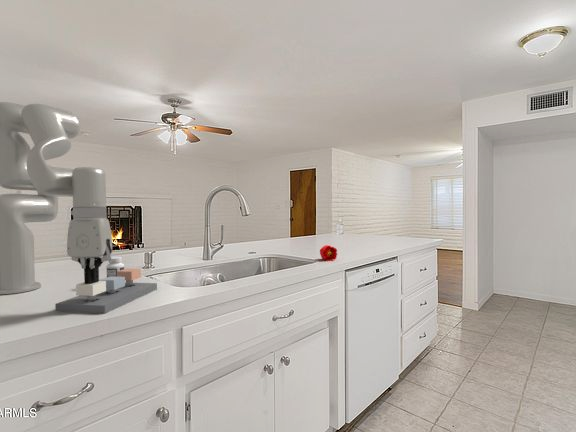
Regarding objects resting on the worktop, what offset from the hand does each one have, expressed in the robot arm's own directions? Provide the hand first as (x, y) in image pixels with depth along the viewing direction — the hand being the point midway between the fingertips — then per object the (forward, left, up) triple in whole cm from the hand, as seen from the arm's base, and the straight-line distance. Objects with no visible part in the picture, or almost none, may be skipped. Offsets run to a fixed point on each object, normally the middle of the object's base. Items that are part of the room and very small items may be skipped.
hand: (91, 282), depth 83 cm
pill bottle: (-10, +23, -7) cm, 26 cm away
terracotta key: (0, +16, -5) cm, 17 cm away
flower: (+62, +86, -7) cm, 106 cm away
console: (0, +8, -7) cm, 11 cm away
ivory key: (0, 0, -5) cm, 5 cm away
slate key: (0, +8, -5) cm, 10 cm away
